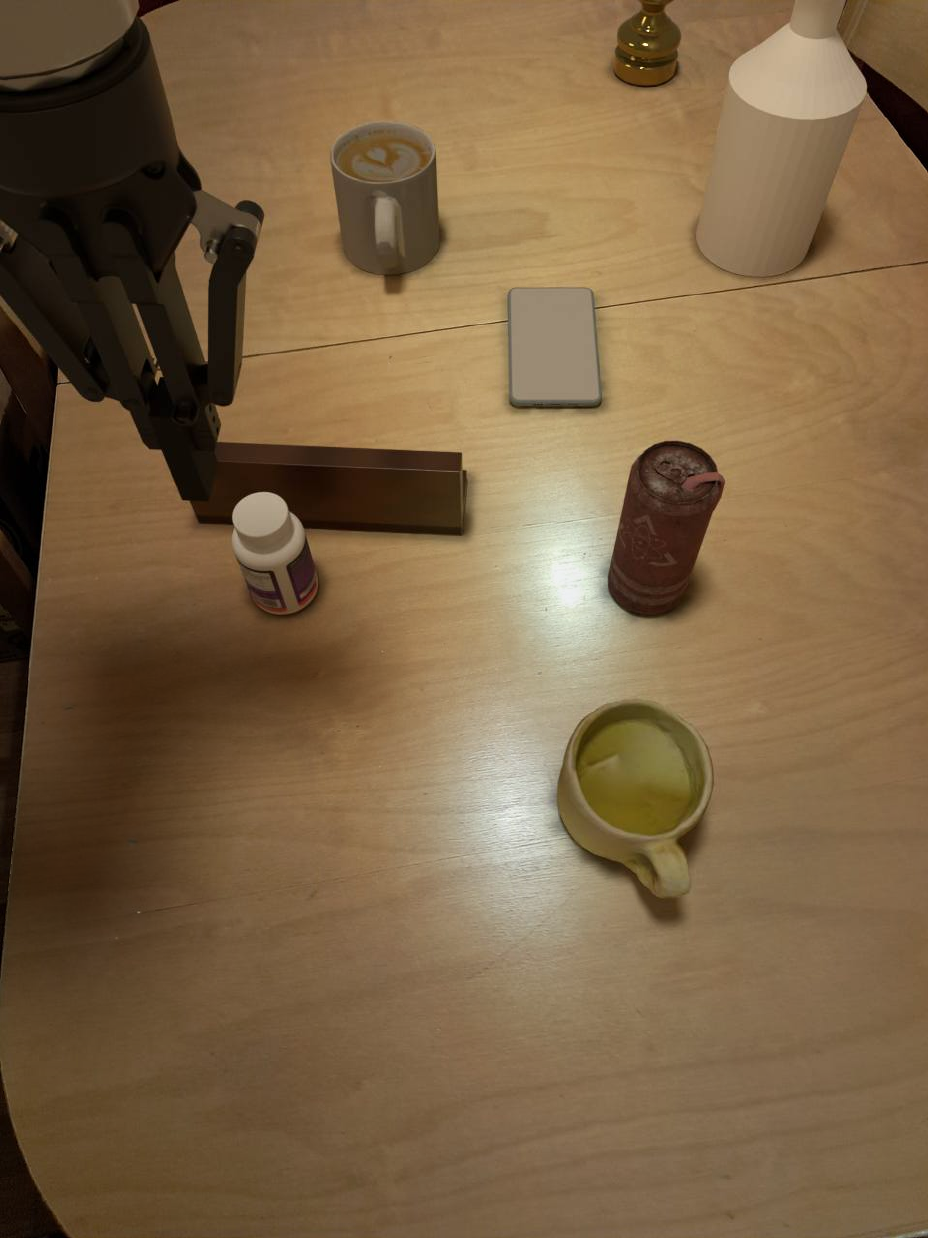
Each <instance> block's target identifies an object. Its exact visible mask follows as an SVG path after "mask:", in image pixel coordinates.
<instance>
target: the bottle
mask: <svg viewBox="0 0 928 1238" xmlns="http://www.w3.org/2000/svg"><path fill="white" fill-rule="evenodd" d="M846 1H847V0H794V4H793V9H792V13H791V17H790V21H789V22H788V23H786V24H785V25H784V26H782V27H780V29H778V30H777V31H776V32H774V33H773V34H772V35H770V36H769V37H768V38H766V39H765V40H763V42H761V43H759V44H757V45H756V46H755V47H753V48H751V49H750V50H748V51H747V52H745V53H743V54H741V55H740V56H739V57H738V58H737V59H735V60H734V61H733V63H732V64H731V66H730V68H729V72H728V77H727V81H726V87H725V91H724V95H723V101H722V106H721V111H720V116H719V120H718V126H717V130H716V134H715V140H714V144H713V149H712V155H711V159H710V163H709V168H708V173H707V178H706V183H705V189H704V193H703V198H702V203H701V207H700V213H699V217H698V222H697V225H696V226H697V227H696V232H695V242H696V245H697V248H698V249H699V251H700V252H701V254H702V255H703V257H705V258H706V259H707V260H708V261H709V262H710V263H712V264H714V265H715V266H717V267H718V268H720V269H722V270H724V271H727V272H729V273H733V274H736V275H739V276H746V277H751V278H752V277H755V278H756V277H757V278H764V277H773V276H775V277H776V276H778V275H782V274H785V273H787V272H790V271H792V270H794V269H795V268H796V267H798V266H799V265H800V264H801V263H802V262H803V261H804V260H805V258H806V256H807V254H808V251H809V249H810V246H811V244H812V242H813V241H812V240H813V238H814V236H815V233H816V229H817V227H818V225H819V222H820V219H821V217H822V213H823V212H824V209H825V207H826V206H825V205H826V203H827V201H828V197H829V195H830V192H831V189H832V186H833V185H834V182H835V179H836V176H837V174H838V171H839V168H840V165H841V163H842V160H843V157H844V154H845V152H846V149H847V146H848V143H849V141H850V138H851V135H852V133H853V130H854V128H855V125H856V122H857V119H858V116H859V114H860V112H861V109H862V106H863V103H864V101H865V98H866V96H867V92H868V91H867V90H868V85H867V81H866V78H865V76H864V75H863V73H862V71H861V70H860V68H859V67H858V65H857V63H856V62H855V61H854V59H853V58H852V56H851V54H850V52H849V51H848V48H847V47H846V44H845V42H844V40H843V38H842V37H841V34H840V33H839V31H838V29H837V28H838V26H839V24H840V23H839V22H840V19H841V18H842V17H841V16H842V13H843V11H844V8H845V5H846Z"/></svg>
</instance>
